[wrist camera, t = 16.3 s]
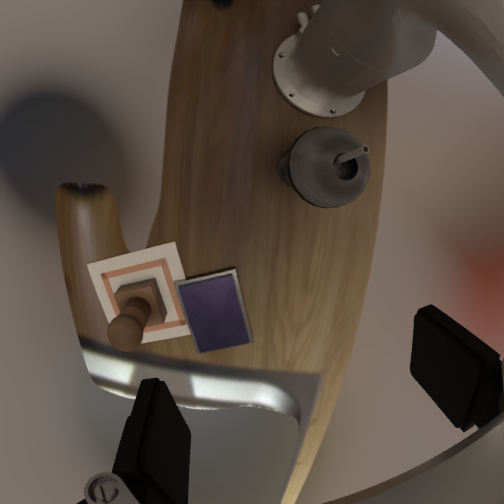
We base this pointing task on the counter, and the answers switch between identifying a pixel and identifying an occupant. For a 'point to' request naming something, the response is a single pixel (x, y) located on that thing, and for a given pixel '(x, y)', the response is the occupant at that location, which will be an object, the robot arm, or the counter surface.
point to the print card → (138, 269)
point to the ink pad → (214, 310)
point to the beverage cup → (326, 167)
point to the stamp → (136, 313)
